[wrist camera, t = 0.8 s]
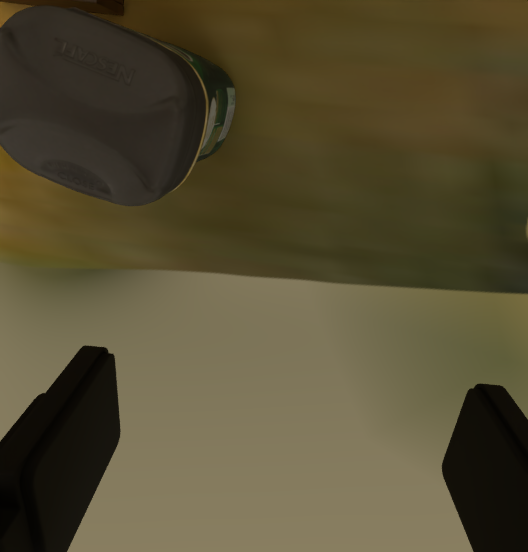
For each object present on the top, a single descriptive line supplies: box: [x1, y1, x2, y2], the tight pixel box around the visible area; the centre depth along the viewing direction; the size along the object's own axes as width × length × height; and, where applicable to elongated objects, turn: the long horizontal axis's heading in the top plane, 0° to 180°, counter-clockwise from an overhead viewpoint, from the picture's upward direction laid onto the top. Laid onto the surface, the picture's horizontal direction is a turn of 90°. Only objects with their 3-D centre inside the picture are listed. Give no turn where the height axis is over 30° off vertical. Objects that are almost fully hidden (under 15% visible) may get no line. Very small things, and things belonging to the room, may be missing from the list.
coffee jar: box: [0, 5, 236, 206], centre depth 26 cm, size 10×8×19 cm
